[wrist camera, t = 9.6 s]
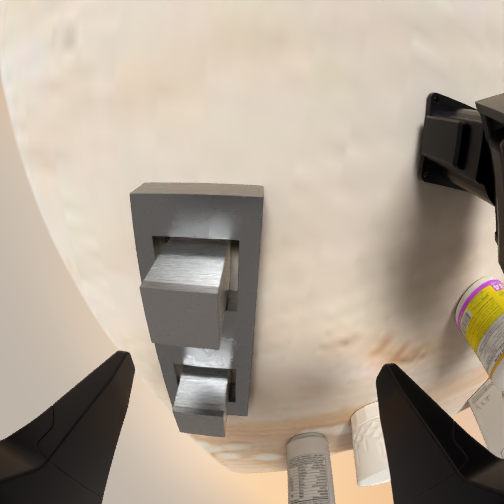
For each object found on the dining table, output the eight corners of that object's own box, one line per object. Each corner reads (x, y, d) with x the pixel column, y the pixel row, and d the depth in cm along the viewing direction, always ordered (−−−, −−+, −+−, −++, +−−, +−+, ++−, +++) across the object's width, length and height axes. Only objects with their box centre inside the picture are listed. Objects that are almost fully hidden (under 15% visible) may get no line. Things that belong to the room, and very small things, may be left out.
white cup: (361, 398, 29) (377, 469, 20) (411, 394, 30) (432, 456, 21) (337, 427, 33) (346, 489, 24) (384, 424, 33) (398, 480, 24)
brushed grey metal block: (230, 353, 26) (223, 416, 19) (230, 378, 27) (224, 437, 21) (187, 349, 26) (172, 411, 19) (192, 374, 27) (180, 431, 21)
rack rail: (263, 185, 18) (263, 197, 16) (248, 397, 29) (247, 416, 27) (144, 182, 18) (129, 193, 16) (177, 390, 29) (172, 408, 27)
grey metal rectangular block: (230, 233, 20) (217, 293, 14) (229, 281, 22) (218, 349, 16) (174, 230, 20) (139, 287, 14) (178, 278, 22) (151, 342, 16)
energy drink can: (287, 448, 36) (290, 533, 23) (284, 433, 34) (287, 530, 20) (326, 443, 36) (335, 527, 22) (328, 428, 33) (339, 524, 20)
